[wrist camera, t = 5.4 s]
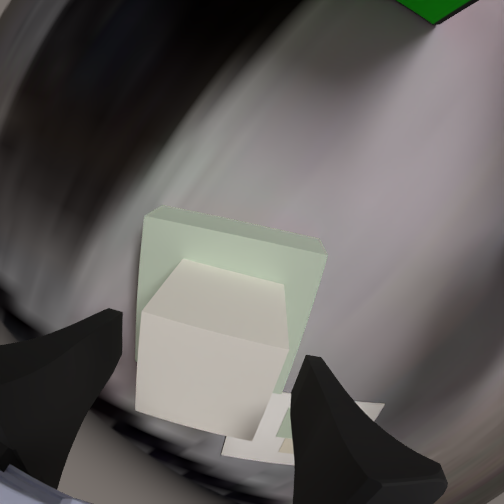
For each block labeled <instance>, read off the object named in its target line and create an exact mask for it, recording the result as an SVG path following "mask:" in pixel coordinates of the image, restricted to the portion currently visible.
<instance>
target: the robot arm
mask: <svg viewBox="0 0 504 504" xmlns="http://www.w3.org/2000/svg"><path fill="white" fill-rule="evenodd" d="M122 316H123V312H120V311H116V310H113V309H110V308H108V309H106V310H103V311H101V312H99V313H97V314H94V315H92V316H90V317H88V318H86V319H84V320H82V321H79V322H77V323H75V324H73V325H71V326H68V327H66V328H63V329H61V330H58V331H55V332H53V333H50V334H48V335H44V336H41V337H38V338H34V339H31V340H27V341H22V342H17V343H11V344H6V345H0V504H92V503H89V502H85V501H82V500H80V499H77V498H73V497H71V496H69V495H66V494H64V493H62V492H60V491H58V490H57V488H58V485H59V481H60V478H61V474H62V471H63V468H64V466H65V463H66V460H67V457H68V454H69V452H70V449H71V447H72V444H73V442H74V440H75V437H76V435H77V432H78V430H79V428H80V426H81V424H82V422H83V420H84V417H85V416H86V414H87V412H88V411H89V409H90V407H91V406H92V404H93V403H94V401H95V400H96V398H97V397H98V395H99V394H100V392H101V391H102V389H103V388H104V386H105V384H106V383H107V381H108V380H109V378H110V377H111V375H112V374H113V372H114V370H115V368H116V366H117V363H118V361H119V359H120V357H121V355H122ZM290 419H291V430H292V441H293V451H294V465H295V474H294V495H293V504H433V503H434V502H436V501H437V500H438V499H439V498H440V497H441V496H442V495H443V494H444V492H445V490H446V488H447V485H448V482H447V480H446V477H445V475H444V472H443V470H442V467H441V465H440V463H437V462H435V461H433V460H431V459H429V458H427V457H425V456H423V455H421V454H419V453H417V452H415V451H413V450H412V449H410V448H408V447H407V446H405V445H404V444H402V443H401V442H399V441H398V440H396V439H395V438H394V437H392V436H391V435H390V434H388V433H387V432H386V431H384V430H383V429H382V428H381V427H380V426H378V425H377V424H376V423H375V422H374V421H373V420H372V419H371V418H370V417H369V416H368V415H367V414H366V413H365V412H364V411H363V410H362V409H361V408H360V407H359V406H358V405H357V404H356V403H355V401H354V400H353V399H352V398H351V397H350V395H349V394H348V393H347V392H346V391H345V389H344V388H343V387H342V385H341V384H340V383H339V381H338V380H337V379H336V377H335V376H334V374H333V373H332V372H331V370H330V369H329V367H328V366H327V365H326V363H325V362H324V360H323V359H322V358H321V357H316V356H310V355H306V356H305V359H304V361H303V364H302V367H301V369H300V372H299V374H298V377H297V379H296V382H295V384H294V387H293V389H292V392H291V403H290Z"/></svg>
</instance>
